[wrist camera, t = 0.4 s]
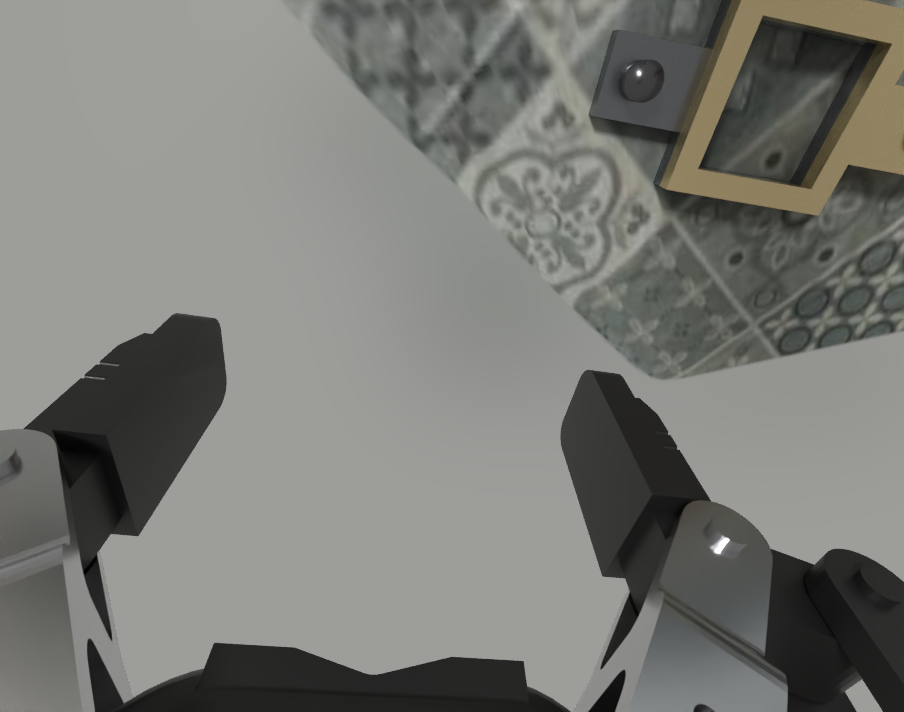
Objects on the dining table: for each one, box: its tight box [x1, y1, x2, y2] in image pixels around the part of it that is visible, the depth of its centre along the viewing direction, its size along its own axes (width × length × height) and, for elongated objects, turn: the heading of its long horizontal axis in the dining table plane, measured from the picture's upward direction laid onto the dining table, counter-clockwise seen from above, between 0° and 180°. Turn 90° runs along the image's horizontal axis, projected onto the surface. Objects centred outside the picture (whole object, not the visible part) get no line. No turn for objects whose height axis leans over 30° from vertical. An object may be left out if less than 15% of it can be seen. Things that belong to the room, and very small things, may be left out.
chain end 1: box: [589, 0, 877, 186], centre depth 31 cm, size 12×19×3 cm, turn 81°
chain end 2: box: [660, 0, 904, 216], centre depth 32 cm, size 12×19×3 cm, turn 81°
